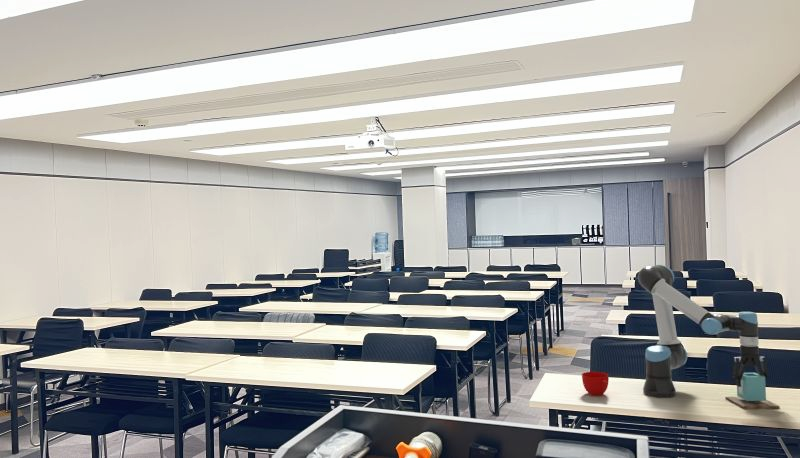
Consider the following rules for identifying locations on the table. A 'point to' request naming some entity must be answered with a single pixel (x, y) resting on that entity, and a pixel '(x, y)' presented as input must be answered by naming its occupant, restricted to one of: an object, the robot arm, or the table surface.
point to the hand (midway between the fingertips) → (751, 393)
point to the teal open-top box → (753, 387)
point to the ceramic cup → (595, 382)
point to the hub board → (752, 403)
